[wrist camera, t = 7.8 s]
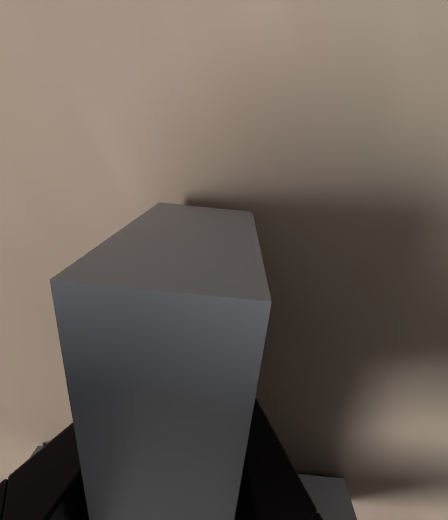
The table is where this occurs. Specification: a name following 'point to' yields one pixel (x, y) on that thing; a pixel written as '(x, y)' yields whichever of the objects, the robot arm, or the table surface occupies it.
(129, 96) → the table surface
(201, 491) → the grey piece
